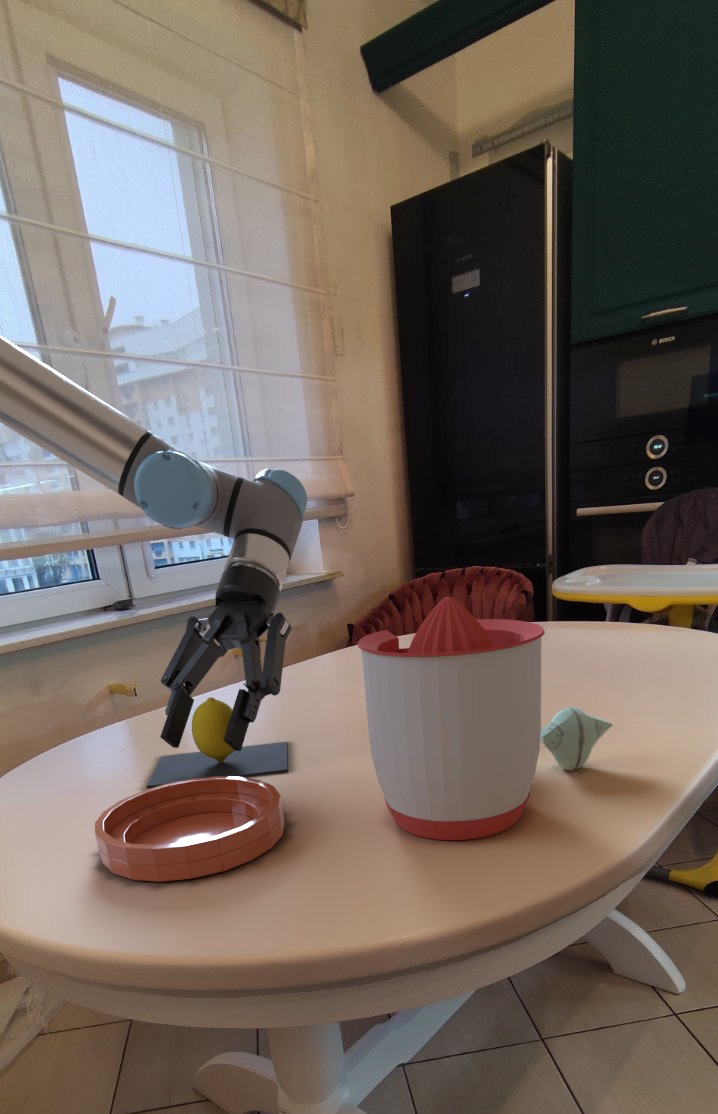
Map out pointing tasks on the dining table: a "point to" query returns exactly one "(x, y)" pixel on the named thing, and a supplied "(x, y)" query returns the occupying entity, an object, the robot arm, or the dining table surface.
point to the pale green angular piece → (572, 736)
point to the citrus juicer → (455, 721)
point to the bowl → (190, 828)
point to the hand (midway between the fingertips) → (200, 743)
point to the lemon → (212, 729)
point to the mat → (222, 764)
